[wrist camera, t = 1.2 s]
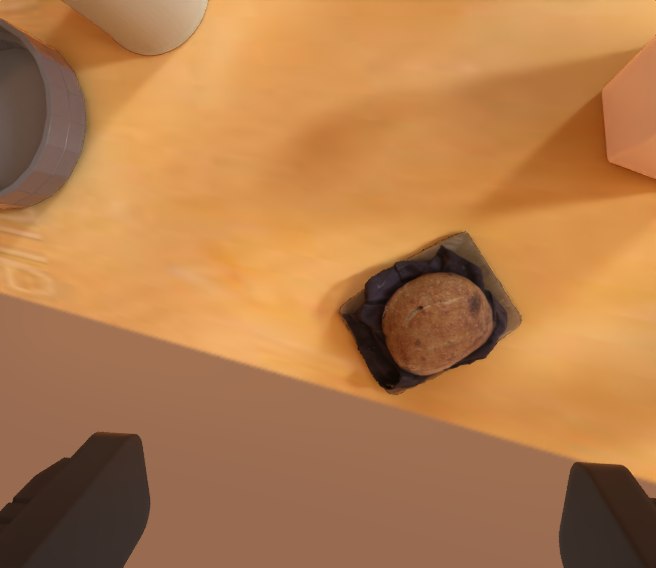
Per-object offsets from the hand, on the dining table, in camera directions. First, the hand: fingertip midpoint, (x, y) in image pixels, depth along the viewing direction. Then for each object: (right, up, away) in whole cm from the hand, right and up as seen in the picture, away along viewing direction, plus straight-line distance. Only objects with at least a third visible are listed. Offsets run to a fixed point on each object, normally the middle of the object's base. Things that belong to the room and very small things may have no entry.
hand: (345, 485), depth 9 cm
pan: (-26, +17, +31) cm, 44 cm away
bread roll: (+7, +2, +25) cm, 25 cm away
